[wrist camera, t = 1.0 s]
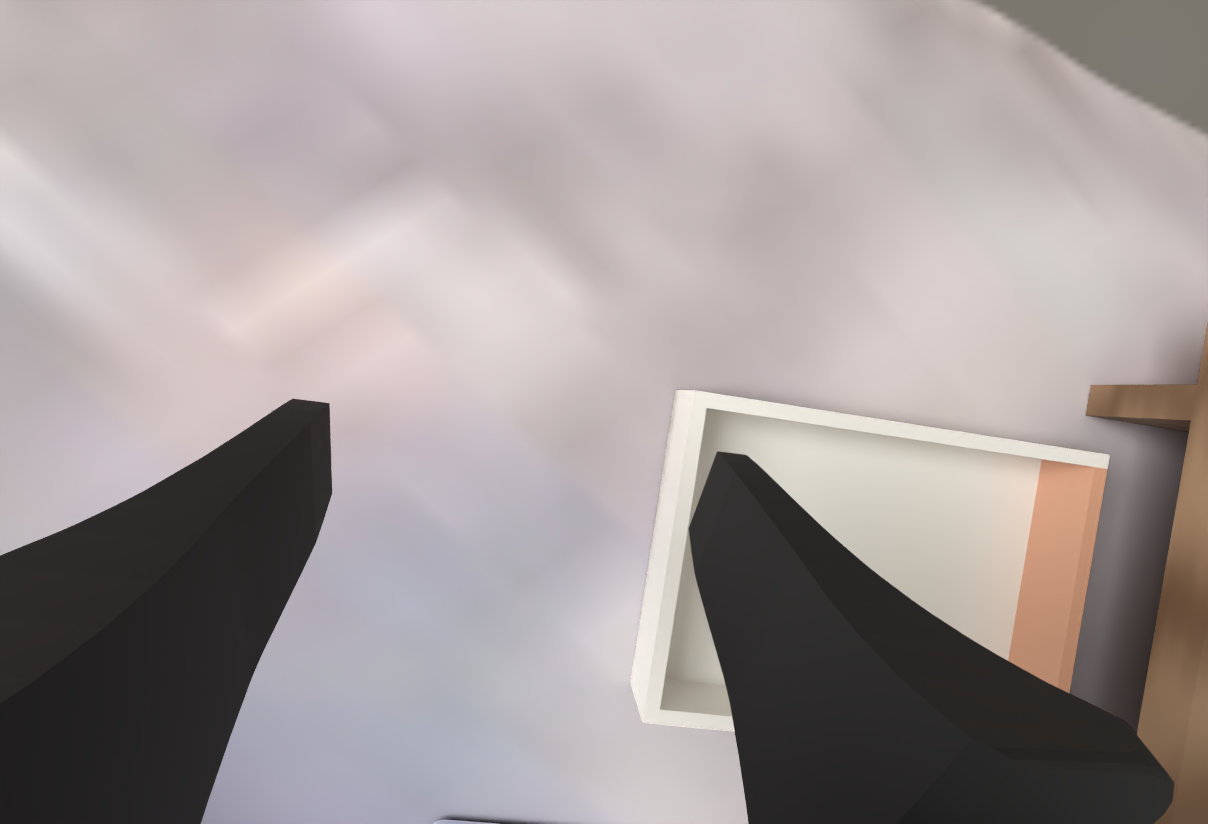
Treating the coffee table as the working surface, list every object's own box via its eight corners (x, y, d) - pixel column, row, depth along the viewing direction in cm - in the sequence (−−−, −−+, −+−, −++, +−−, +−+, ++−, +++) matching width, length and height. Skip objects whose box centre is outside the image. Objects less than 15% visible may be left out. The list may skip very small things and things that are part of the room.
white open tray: (999, 720, 25) (1057, 762, 22) (630, 683, 23) (642, 723, 20) (1045, 447, 25) (1109, 454, 22) (675, 389, 23) (694, 390, 20)
